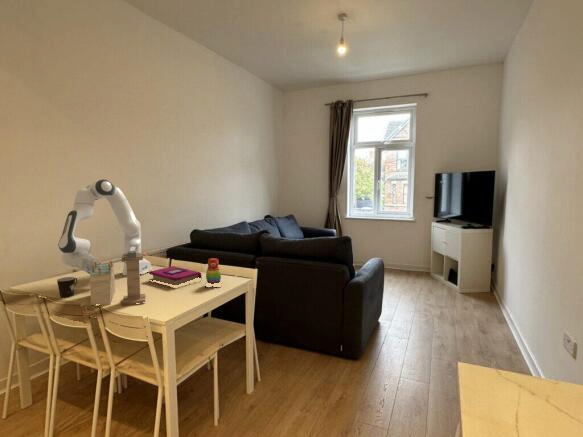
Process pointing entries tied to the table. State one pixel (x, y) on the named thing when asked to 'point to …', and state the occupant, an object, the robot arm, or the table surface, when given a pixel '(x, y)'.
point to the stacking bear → (213, 271)
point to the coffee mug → (66, 286)
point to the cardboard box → (102, 284)
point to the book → (174, 275)
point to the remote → (132, 251)
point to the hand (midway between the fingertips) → (104, 267)
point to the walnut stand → (133, 280)
